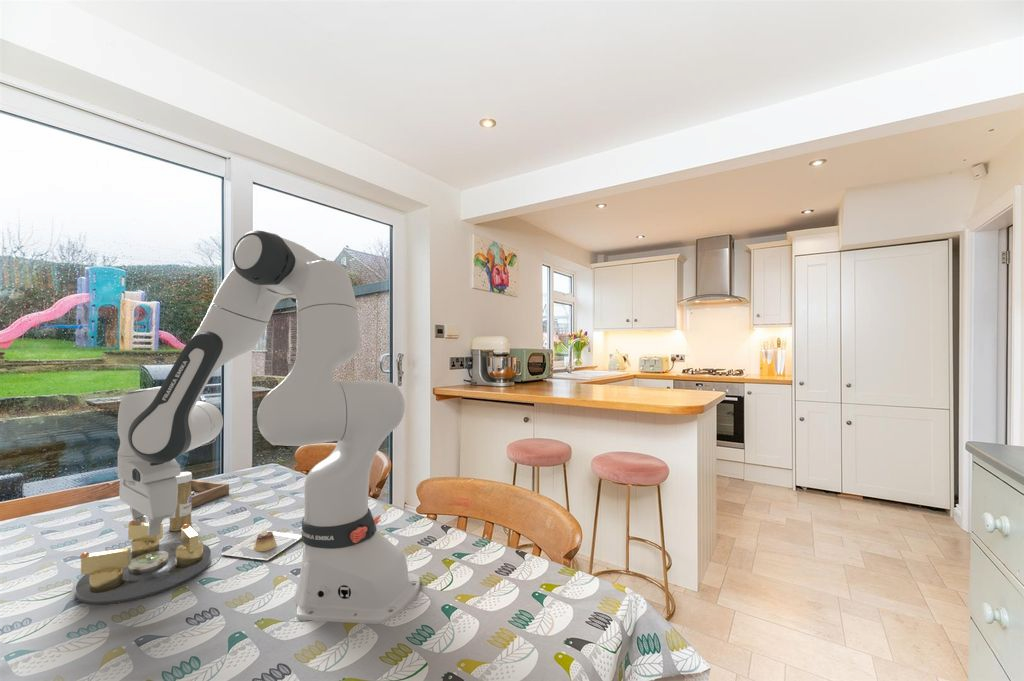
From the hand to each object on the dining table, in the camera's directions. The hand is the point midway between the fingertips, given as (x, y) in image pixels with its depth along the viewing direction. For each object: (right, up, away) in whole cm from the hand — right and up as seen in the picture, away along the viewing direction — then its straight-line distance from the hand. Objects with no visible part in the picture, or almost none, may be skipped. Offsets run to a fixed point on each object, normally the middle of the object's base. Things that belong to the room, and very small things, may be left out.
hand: (146, 530), depth 89 cm
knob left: (+3, -5, -12) cm, 13 cm away
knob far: (0, -5, 0) cm, 5 cm away
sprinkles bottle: (-6, -7, +16) cm, 19 cm away
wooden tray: (-18, -7, +34) cm, 40 cm away
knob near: (+12, -5, -3) cm, 13 cm away
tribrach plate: (+5, -7, -5) cm, 10 cm away
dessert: (+21, -8, +7) cm, 23 cm away
